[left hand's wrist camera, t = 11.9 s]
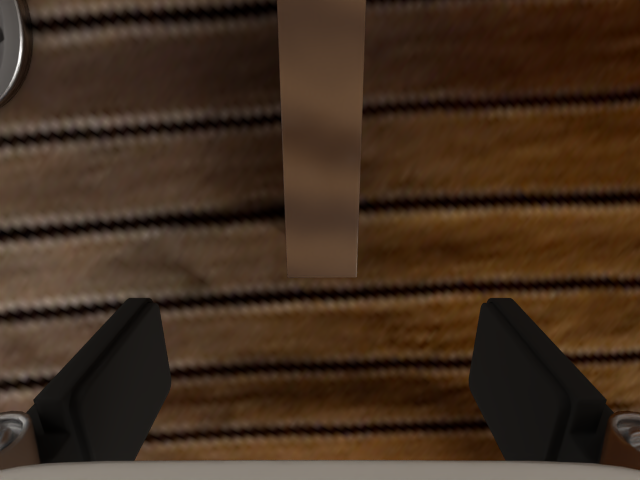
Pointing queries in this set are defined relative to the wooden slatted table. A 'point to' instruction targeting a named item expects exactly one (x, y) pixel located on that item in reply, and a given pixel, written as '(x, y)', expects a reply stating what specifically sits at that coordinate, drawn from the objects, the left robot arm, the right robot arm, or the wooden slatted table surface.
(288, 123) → the beam
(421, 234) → the wooden slatted table surface
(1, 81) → the right robot arm
